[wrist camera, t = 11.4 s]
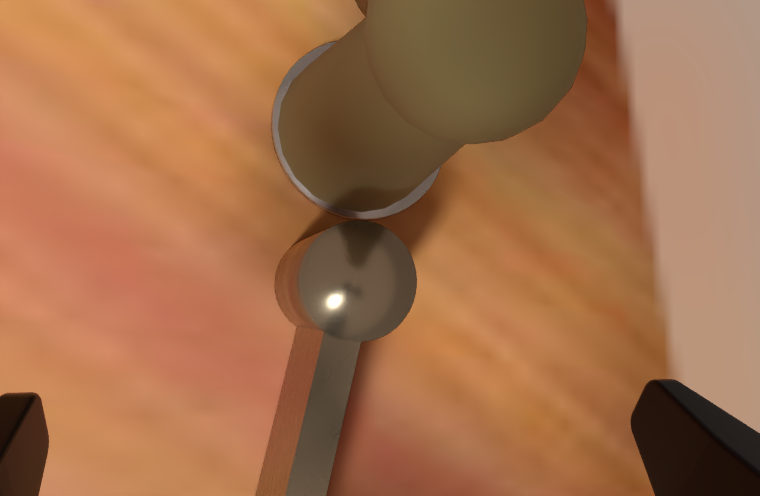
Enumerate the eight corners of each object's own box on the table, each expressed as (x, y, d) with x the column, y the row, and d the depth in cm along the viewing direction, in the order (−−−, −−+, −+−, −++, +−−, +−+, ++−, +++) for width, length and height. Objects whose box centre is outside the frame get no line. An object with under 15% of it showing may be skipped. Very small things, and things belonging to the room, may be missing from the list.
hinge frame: (342, 610, 22) (384, 683, 18) (143, 592, 20) (138, 669, 16) (520, -208, 28) (585, -301, 23) (377, -287, 26) (420, -404, 21)
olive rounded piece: (402, 37, 24) (580, -157, 14) (453, 185, 25) (665, 100, 14) (254, 73, 22) (334, -123, 12) (310, 233, 23) (437, 176, 12)
